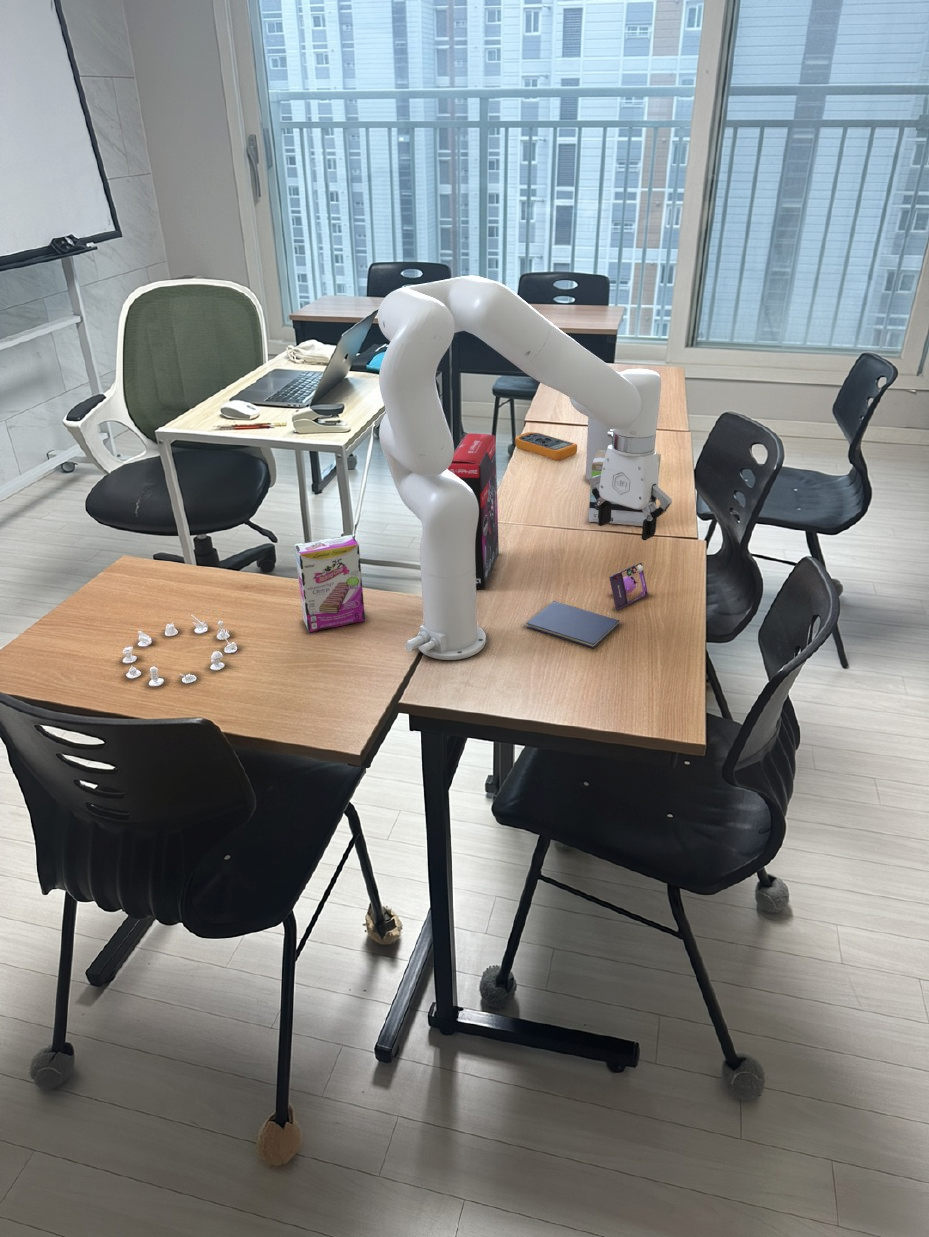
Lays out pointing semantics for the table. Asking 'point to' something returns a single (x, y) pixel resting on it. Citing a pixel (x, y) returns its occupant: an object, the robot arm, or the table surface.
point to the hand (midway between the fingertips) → (625, 530)
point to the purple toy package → (626, 585)
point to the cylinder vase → (596, 442)
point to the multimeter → (545, 445)
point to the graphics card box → (481, 496)
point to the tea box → (618, 512)
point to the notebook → (573, 624)
